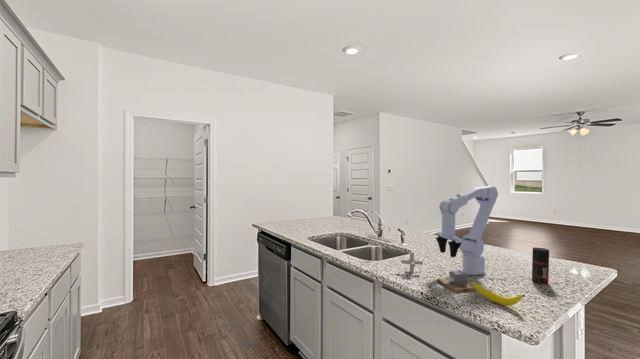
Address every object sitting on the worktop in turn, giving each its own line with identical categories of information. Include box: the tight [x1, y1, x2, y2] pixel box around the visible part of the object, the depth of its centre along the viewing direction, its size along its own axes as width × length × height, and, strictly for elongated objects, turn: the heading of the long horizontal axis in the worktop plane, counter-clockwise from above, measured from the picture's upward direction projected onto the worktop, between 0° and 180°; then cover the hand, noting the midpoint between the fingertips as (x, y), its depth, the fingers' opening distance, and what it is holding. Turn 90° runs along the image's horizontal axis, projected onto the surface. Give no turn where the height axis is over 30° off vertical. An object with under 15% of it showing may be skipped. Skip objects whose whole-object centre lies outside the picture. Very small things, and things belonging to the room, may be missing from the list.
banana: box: [470, 281, 526, 307], centre depth 107 cm, size 3×19×6 cm, turn 32°
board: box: [436, 277, 478, 293], centre depth 123 cm, size 12×12×1 cm
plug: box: [445, 270, 469, 285], centre depth 123 cm, size 9×4×4 cm, turn 102°
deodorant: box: [531, 246, 550, 286], centre depth 129 cm, size 6×6×15 cm
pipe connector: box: [400, 251, 424, 274], centre depth 140 cm, size 10×10×10 cm
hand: (447, 254), depth 135 cm, fingers open, 7 cm apart
